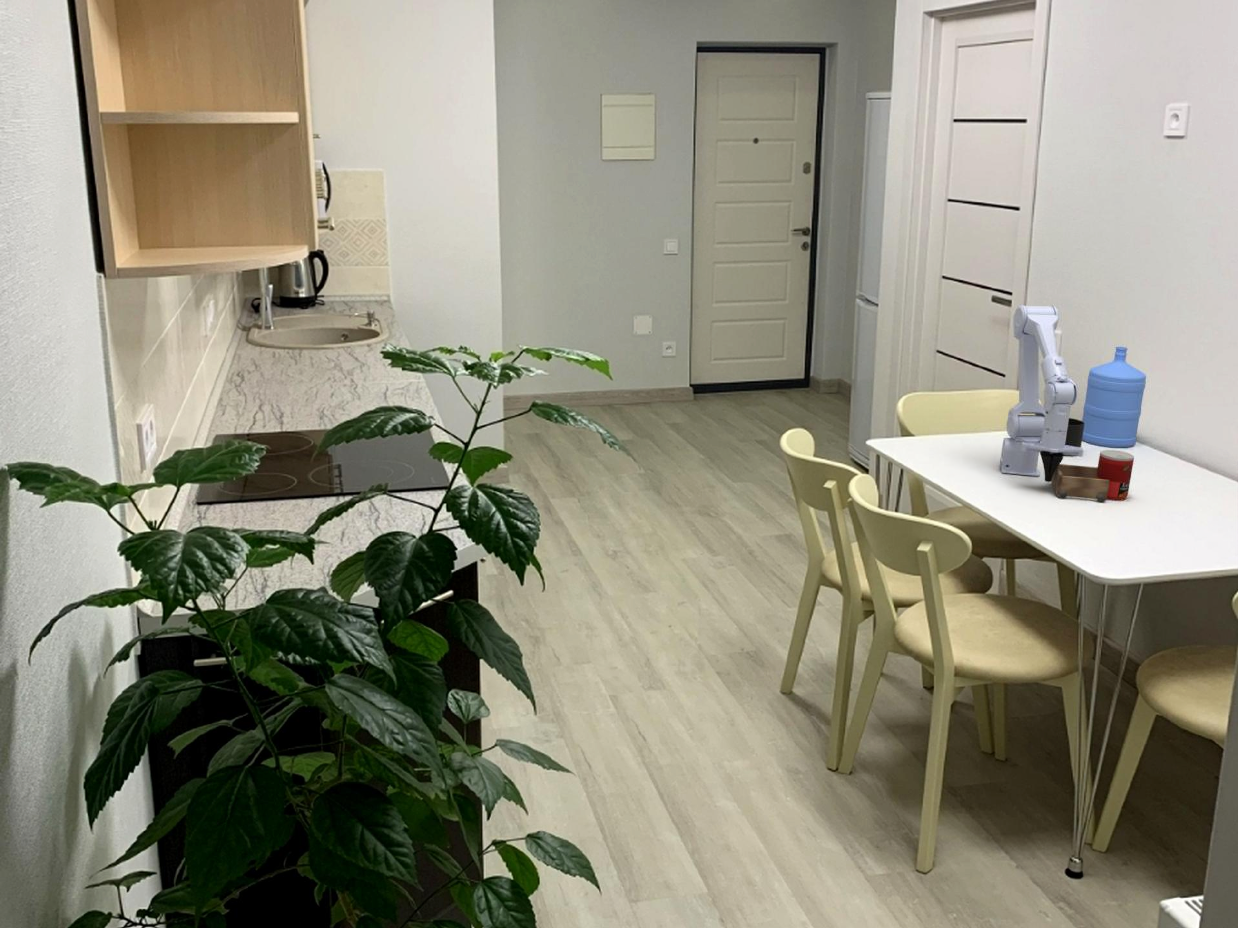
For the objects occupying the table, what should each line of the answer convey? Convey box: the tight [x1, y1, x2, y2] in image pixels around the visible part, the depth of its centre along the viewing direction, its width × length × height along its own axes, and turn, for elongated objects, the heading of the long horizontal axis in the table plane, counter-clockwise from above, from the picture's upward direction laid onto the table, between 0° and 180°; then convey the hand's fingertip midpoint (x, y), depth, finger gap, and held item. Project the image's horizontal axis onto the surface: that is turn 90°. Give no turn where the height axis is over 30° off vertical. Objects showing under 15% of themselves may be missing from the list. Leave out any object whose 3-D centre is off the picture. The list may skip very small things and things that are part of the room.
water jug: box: [1081, 346, 1147, 449], centre depth 348 cm, size 16×16×28 cm
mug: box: [1063, 417, 1084, 457], centre depth 339 cm, size 9×12×9 cm
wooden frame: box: [1050, 463, 1109, 503], centre depth 301 cm, size 12×13×6 cm
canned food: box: [1096, 449, 1135, 501], centre depth 299 cm, size 8×8×11 cm
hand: (1047, 480), depth 303 cm, fingers closed
